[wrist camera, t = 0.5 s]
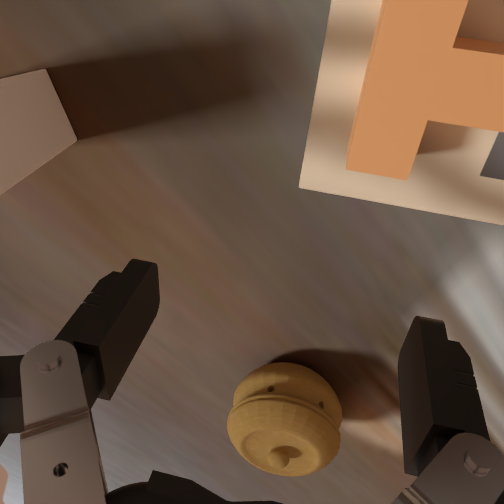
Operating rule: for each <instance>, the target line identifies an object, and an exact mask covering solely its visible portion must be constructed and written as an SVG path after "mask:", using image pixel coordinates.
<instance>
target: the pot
mask: <svg viewBox="0 0 504 504" xmlns="http://www.w3.org/2000/svg"><path fill="white" fill-rule="evenodd" d="M233 404H234V407H233V408H232V409H231V411H230V413H229V417H228V422H227V429H228V433H229V436H230V439H231V441H232V443H233V444H234V446H235V448H236V449H237V451H238V452H239V453H240V454H241V455H242V456H243V457H244V458H245V459H246V460H247V461H248V462H250V463H251V464H252V465H254V466H256V467H258V468H260V469H262V470H264V471H267V472H269V473H273V474H277V475H282V476H303V475H308V474H311V473H314V472H317V471H318V470H320V469H322V468H324V467H325V466H327V465H328V464H329V463H330V462H331V461H332V460H333V459H334V457H335V456H336V455H337V453H338V450H339V448H340V432H339V427H340V425H341V422H342V408H341V405H340V402H339V399H338V397H337V395H336V393H335V392H334V390H333V389H332V388H331V386H330V385H329V384H328V382H327V381H326V380H325V379H324V378H323V377H321V376H320V375H319V374H318V373H316V372H315V371H313V370H311V369H310V368H307V367H305V366H302V365H299V364H294V363H287V362H278V363H271V364H267V365H264V366H262V367H260V368H258V369H256V370H254V371H253V372H251V373H250V374H249V375H248V376H247V377H246V378H244V379H243V380H242V381H241V382H240V384H239V385H238V387H237V389H236V391H235V393H234V399H233Z"/></svg>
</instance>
